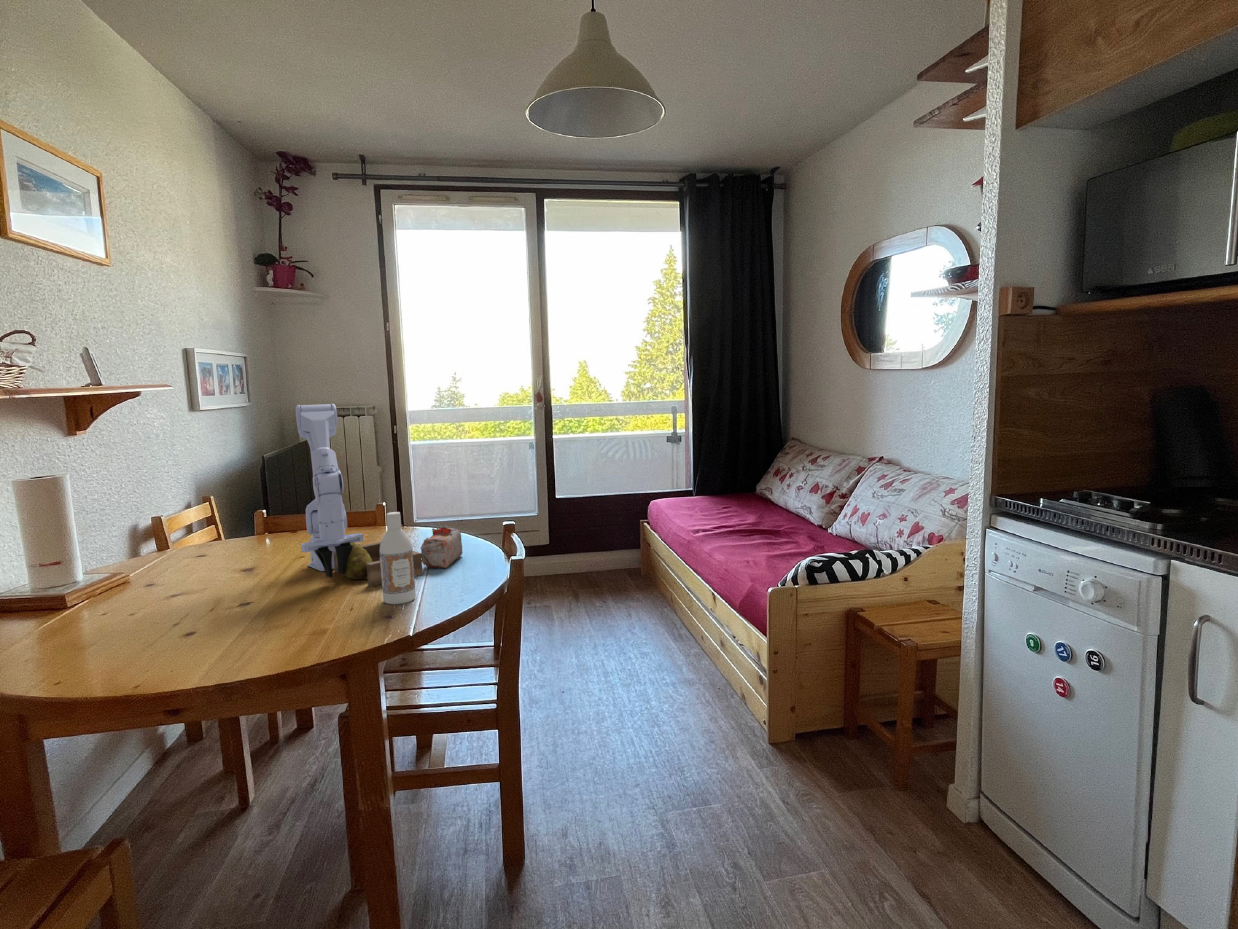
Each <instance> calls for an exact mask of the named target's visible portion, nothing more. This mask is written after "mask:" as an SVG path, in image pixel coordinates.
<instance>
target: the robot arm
mask: <svg viewBox="0 0 1238 929" xmlns="http://www.w3.org/2000/svg"><path fill="white" fill-rule="evenodd" d="M295 419H296V427H297V433H298V434H299V437H300V438H303V439H306V441H307V444H308V446H309V449H310V458H311V467H312V487H313V492H314V497H315V498H314V499H313V500H311V502H310V503H308V504H307V505H306V506H305V507H306V508H305V524H306V525H305V526H306V531H307V534H308V535H309V536H311V537H310V540H309V541H308V542H303V543H301V544H300V548H301V550H300V551H301V552H302V553H310V554H309V555H310V563H307V566H308V567H310V568H313V569H315V570H318V571H319V572H325V576H326V577H327V578H333V575H334V572H333V571H334V570H335V565H334V554H333V551H336V554H337V560H338V571H339V573H338V575H339V574H340V575H344V574H345V569H346V564H347V560H348V557H349V555H350V553H351V551H352V545H350V543H361V542H364V541H365V540H364V534H363V533H360V532H358V533H351V534H346V530H348V529H347V528H348V519H347V518H348V517H347V512H346V508H345V504H344V502H343V494H344V488H345V487H344V479H343V475H342V473H341V470H340V468H339V464H338V459H337V453H336V452H335V450H333V449H332V448H331V446H330V443H331V442H330V438H331V437H333V436H335V435H336V434H337V431H338V430H337V428H338V411H337V406H336V405H335V404H334V403H333V402H332V403H325V404H322V403H321V404H297V405H296V406H295Z"/></svg>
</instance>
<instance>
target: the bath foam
mask: <svg viewBox="0 0 1238 929" xmlns="http://www.w3.org/2000/svg"><path fill="white" fill-rule="evenodd" d="M401 517H402V516H401V512H400V511H393V512H392V511H390V512H387V513H386V526H387V530H386V531H385V533H384V535H383V537H382V538H381V541H380V542H381V544H380V565H381V577H382V585H381V588H382V589H381V590H382V599H383V602H384V603H385V604H388V605H402V604H406V603H410V602H412V601H413V600H415V598H416V582H415V581H416V580H415V576H414V565H413V551H414V550H413V546H412V541H411V539H410V538H409V536H408V535H407V534H406V532H405V531H404V529H402V520H401V519H402V518H401Z"/></svg>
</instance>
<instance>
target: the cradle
mask: <svg viewBox="0 0 1238 929" xmlns="http://www.w3.org/2000/svg"><path fill="white" fill-rule="evenodd" d="M355 543H356V544H359V545H361V542H355ZM380 544H381V541H378V542H373V543H368V544H364V545H363V544H362V545H361V546H362V548H363V549H365V550H366V551H368V553H369V555H370V557H371V559H372V561H373V562H371V563H367V576H368V577H367V586H368V587H371V588H374V587H377V586H382V577H381V565H380ZM412 551H413V565H414V577H416V576H421V575H423V563H422V558H421V552H418V551H415V550H412ZM333 554H334V565H335V569H334V572H335V573H336V574H339V571H338V565H337V560H336V556H337V554H336V551H333Z"/></svg>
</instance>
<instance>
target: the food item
mask: <svg viewBox="0 0 1238 929" xmlns="http://www.w3.org/2000/svg"><path fill="white" fill-rule="evenodd" d="M431 528H432V529H431V530H432V531H431V532H432V536H429V537H426V538H425V539H424V540H423V543H421V546H420V551H421V552H420V553H421V559H422V565H423V566H426V567H427V568H431V569H447V568H449V567H450V565H452V564H453V563H454V562H455V561H457V559H459V558H460V557H461V556H462V555H463V542H462V533H461V530H459V529H457V528H454V527H453V528H451V527H445V526H443V527H441V528H437V529H436V528H433V527H431Z"/></svg>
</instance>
